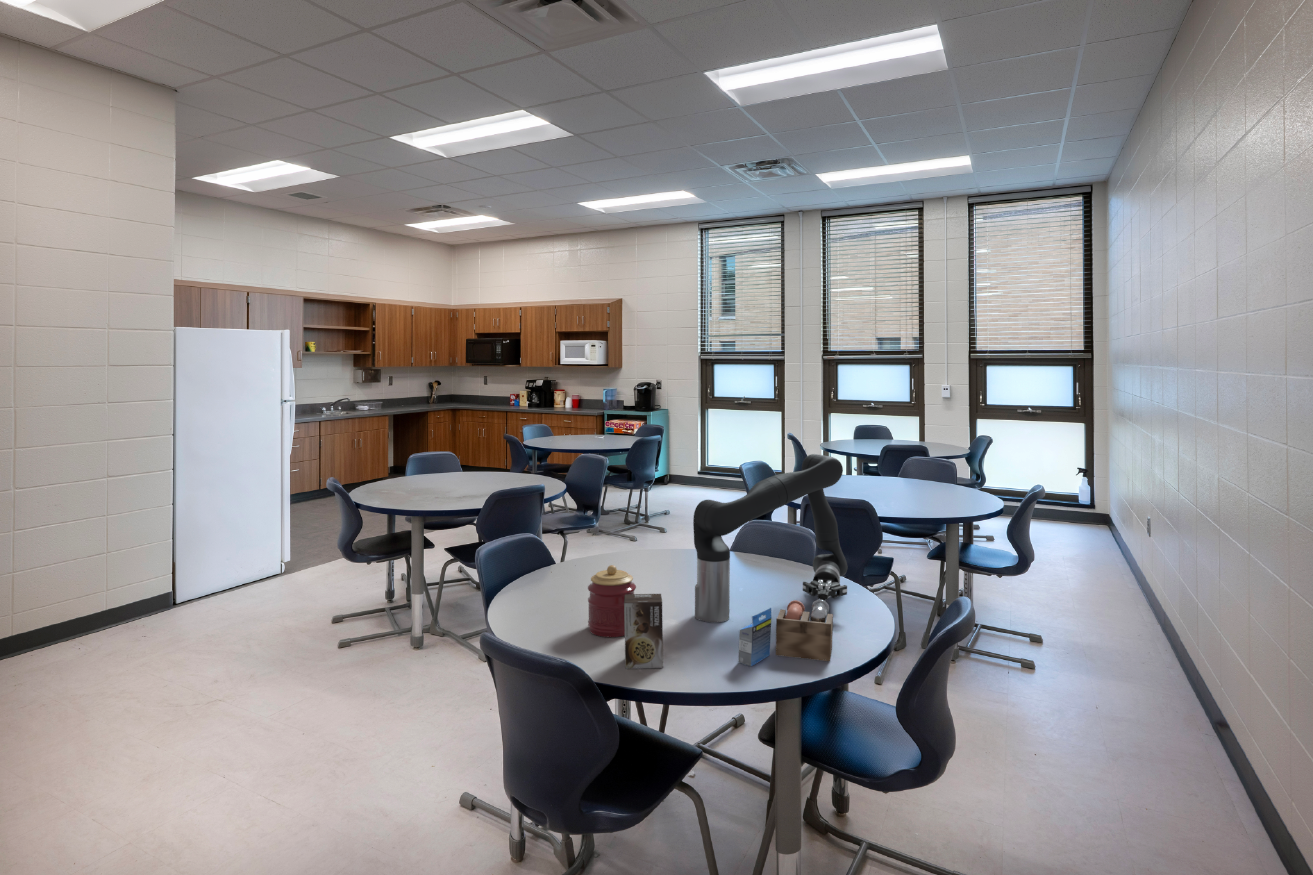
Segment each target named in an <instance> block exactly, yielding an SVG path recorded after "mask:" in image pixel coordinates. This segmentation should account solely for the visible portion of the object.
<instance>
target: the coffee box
mask: <svg viewBox="0 0 1313 875" xmlns="http://www.w3.org/2000/svg"><path fill="white" fill-rule="evenodd" d="M624 618H625V636H624V663H625V664H624V669H625V670H627V669H628V670H630V669H632V670H633V669H657V668H658V669H663V668H664V641H663V638H664V637H663V632H664V631H663V622H664V620H663V598H662V593H634V594H626V595H625V597H624Z"/></svg>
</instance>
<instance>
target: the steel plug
mask: <svg viewBox="0 0 1313 875" xmlns="http://www.w3.org/2000/svg"><path fill="white" fill-rule="evenodd" d="M829 611H830V605H829V603H828V602H827V600H825V601H824V600H821V599H816V600H814V601H813V602H812V605H811V614H810V621H813V622H823V623H826V620H827V614H829Z"/></svg>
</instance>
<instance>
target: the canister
mask: <svg viewBox="0 0 1313 875" xmlns="http://www.w3.org/2000/svg"><path fill="white" fill-rule="evenodd" d="M633 580H634V577H633V575H631V574H629V573H628V572H627V571H625V570H621V569H618V568H617V566H615V565H614V564H613V565H611V564H610V565H609V566H607V568H606V569H603V570H600V571H598V572H596V573H595V574H593V575H592V576H591V577H590V581H591V583H589V584H588V586H587V590H588V592H589V596H588V598H587V602H588V619H587V623H588V624H587V626H588V630H589V632H590V633H591V634H592V635H594V636H598V637H601V638H618V637H619V638H620V637H625V618H624V597H625V595H626V594H635V590H636V589H637V586H636V584H635V583H634V582H633Z"/></svg>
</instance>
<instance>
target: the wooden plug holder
mask: <svg viewBox="0 0 1313 875" xmlns="http://www.w3.org/2000/svg"><path fill="white" fill-rule="evenodd" d="M810 613H811V612H810V611H804V612H803V614H802V616H801V619H800V620H792V619H785V617H786V614H787V609H780V610H779V612H778V615H777V616H776V619H775V656H778V657H779V656H780V657H788V658H797V659H804V660H805V659H806V660H814V661H822V662H823V661H824V662H831V658H832V652H833V632H834V631H833V625H834V624H833V623H834V622H833V621H834V614H833V613H828V614H827V615H826V619H825V623H823V622H813V621H810V618H811V614H810Z"/></svg>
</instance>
